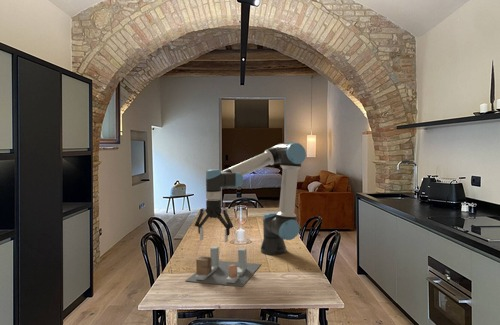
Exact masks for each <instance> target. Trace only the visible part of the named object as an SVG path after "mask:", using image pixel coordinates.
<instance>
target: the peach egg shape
mask: <svg viewBox="0 0 500 325" xmlns="http://www.w3.org/2000/svg"><path fill="white" fill-rule="evenodd" d="M229 277H231V278H235V277H237V265H236V264H230V265H229Z"/></svg>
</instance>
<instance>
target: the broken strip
mask: <svg viewBox="0 0 500 325" xmlns="http://www.w3.org/2000/svg"><path fill="white" fill-rule="evenodd" d="M237 258H238V260H237V262H238V267H237V277H235V278H231V277H229V276H228V277H227V278H226V282H227V283H235V282H236V281H237V280H238V279H239V276H241V275H242V274H243V273H244V272H245V270H246V269H247V263H248V260H247V248H245V247H242V248H241V247H240V248H239V249H238V250H237Z"/></svg>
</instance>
